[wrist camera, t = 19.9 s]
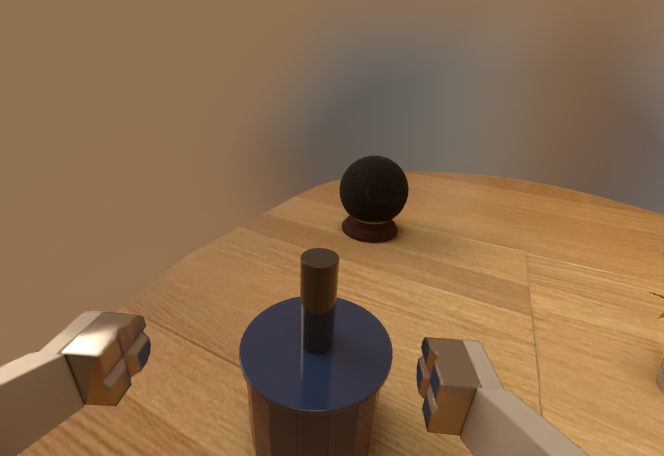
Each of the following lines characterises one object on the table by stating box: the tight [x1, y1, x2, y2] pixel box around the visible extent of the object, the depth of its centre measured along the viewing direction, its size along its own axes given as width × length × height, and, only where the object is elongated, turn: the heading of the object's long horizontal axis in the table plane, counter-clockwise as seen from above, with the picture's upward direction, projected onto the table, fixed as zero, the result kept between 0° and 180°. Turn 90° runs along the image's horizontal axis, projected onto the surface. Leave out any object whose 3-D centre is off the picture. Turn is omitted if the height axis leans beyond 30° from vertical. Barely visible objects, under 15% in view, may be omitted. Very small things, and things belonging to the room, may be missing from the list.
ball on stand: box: [340, 156, 408, 243], centre depth 64 cm, size 13×13×15 cm
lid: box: [239, 248, 393, 416], centre depth 24 cm, size 12×12×9 cm
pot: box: [247, 383, 380, 456], centre depth 28 cm, size 11×11×10 cm
